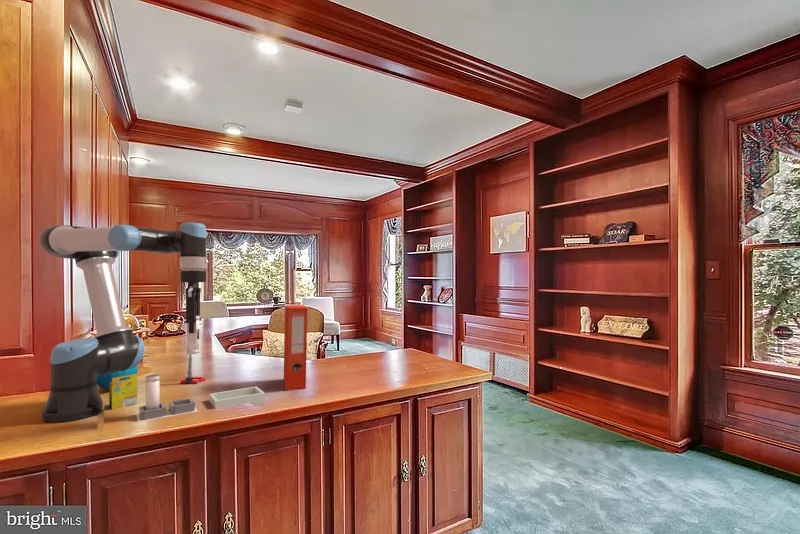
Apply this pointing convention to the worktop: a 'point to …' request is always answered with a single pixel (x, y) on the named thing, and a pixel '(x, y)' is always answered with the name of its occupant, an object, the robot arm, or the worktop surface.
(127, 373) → the decorative orb
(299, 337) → the file binder
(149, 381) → the cylinder
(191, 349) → the cylinder
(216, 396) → the parts tray
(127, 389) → the crayon box
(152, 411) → the block
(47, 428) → the worktop surface
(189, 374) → the tow hook
